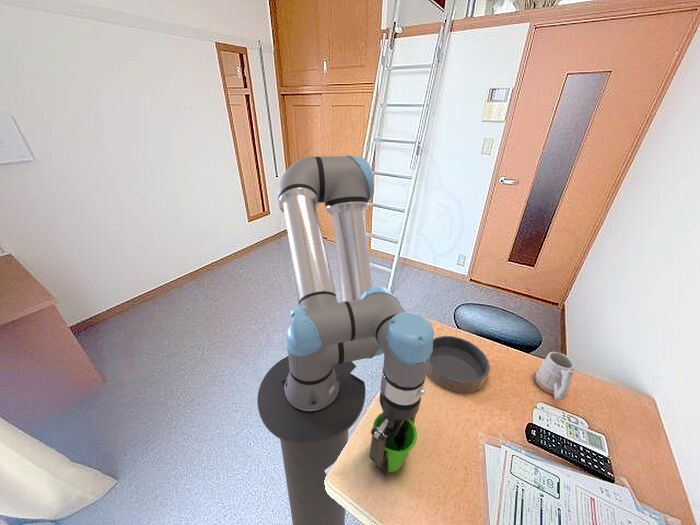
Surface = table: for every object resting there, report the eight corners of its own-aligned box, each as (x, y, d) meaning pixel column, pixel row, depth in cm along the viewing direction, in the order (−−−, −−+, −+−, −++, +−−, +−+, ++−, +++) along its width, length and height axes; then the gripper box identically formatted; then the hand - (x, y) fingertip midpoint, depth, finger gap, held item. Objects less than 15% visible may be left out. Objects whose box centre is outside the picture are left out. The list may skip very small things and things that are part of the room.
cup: (361, 455, 65) (364, 425, 59) (390, 431, 70) (394, 402, 64) (389, 493, 58) (395, 463, 53) (418, 464, 63) (426, 434, 58)
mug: (560, 377, 85) (576, 348, 80) (572, 412, 75) (592, 381, 70) (531, 370, 87) (545, 341, 82) (540, 403, 78) (556, 372, 72)
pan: (413, 372, 86) (415, 361, 84) (436, 338, 99) (438, 328, 97) (476, 405, 76) (480, 394, 74) (491, 363, 90) (495, 352, 88)
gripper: (387, 439, 45) (376, 509, 56) (443, 372, 57) (425, 441, 67) (352, 408, 49) (348, 479, 60) (411, 352, 61) (399, 420, 72)
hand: (389, 459), depth 64 cm, fingers closed on cup, 5 cm apart
